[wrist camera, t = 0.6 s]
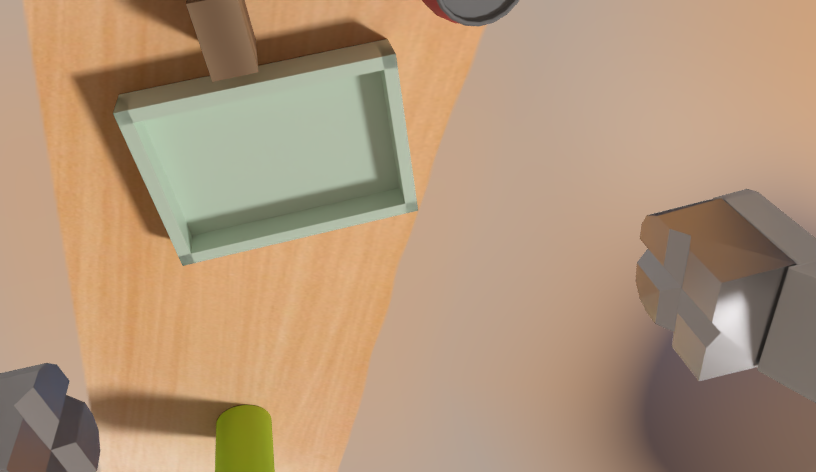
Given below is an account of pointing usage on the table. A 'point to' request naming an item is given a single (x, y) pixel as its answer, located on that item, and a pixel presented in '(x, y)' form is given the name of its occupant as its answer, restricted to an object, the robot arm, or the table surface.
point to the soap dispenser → (244, 440)
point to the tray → (273, 151)
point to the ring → (224, 37)
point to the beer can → (471, 10)
